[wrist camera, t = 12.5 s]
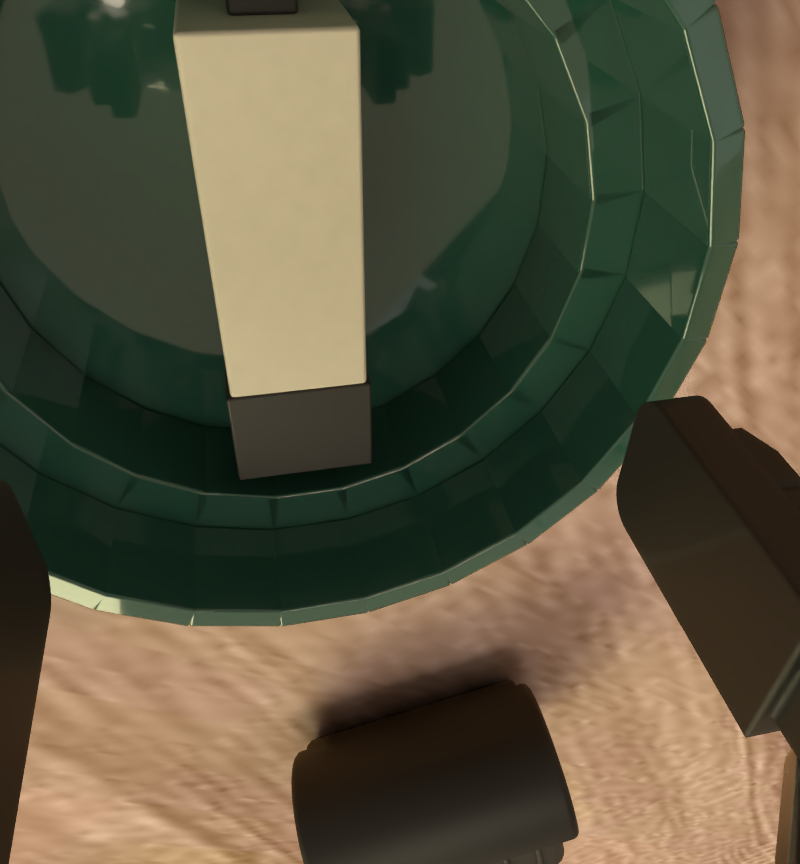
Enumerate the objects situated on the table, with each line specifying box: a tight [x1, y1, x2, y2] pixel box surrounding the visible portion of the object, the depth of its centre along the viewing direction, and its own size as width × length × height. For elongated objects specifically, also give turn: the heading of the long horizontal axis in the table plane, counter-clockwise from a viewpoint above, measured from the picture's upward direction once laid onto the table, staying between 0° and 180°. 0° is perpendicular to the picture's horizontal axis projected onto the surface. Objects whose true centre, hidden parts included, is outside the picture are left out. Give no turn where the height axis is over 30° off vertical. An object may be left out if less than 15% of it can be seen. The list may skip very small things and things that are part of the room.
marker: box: [173, 0, 372, 480], centre depth 16 cm, size 10×3×3 cm, turn 179°
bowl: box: [0, 0, 745, 626], centre depth 16 cm, size 16×16×6 cm
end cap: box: [292, 680, 579, 864], centre depth 31 cm, size 10×7×7 cm
